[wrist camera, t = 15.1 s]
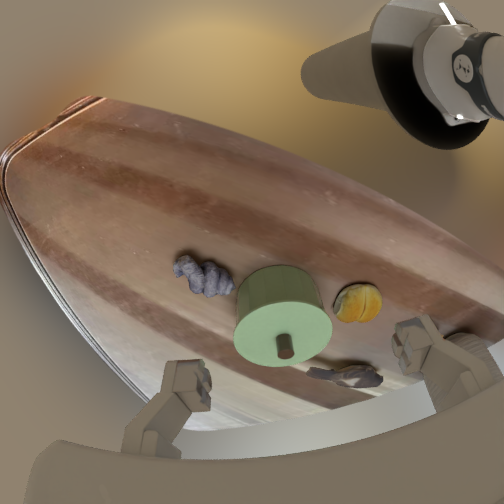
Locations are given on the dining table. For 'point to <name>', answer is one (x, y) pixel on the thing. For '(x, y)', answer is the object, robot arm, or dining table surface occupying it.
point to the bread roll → (358, 303)
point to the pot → (275, 288)
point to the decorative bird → (349, 376)
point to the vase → (472, 346)
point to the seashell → (204, 277)
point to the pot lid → (282, 333)
